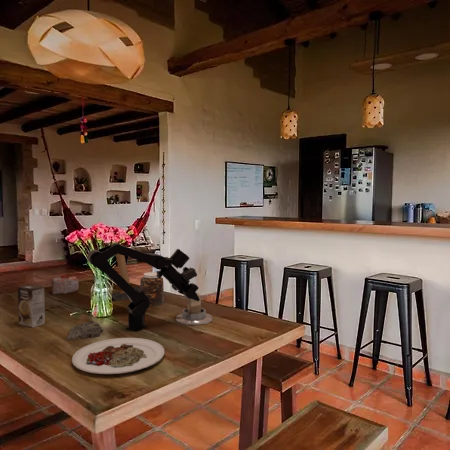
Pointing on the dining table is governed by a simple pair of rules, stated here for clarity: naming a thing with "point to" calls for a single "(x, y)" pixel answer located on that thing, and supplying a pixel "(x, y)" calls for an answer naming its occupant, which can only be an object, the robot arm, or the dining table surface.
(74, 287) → the food item
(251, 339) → the dining table surface
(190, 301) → the wedge pin
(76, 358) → the plated food
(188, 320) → the steel rosette
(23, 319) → the coffee box
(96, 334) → the stone slab
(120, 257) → the hammer
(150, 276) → the jar
